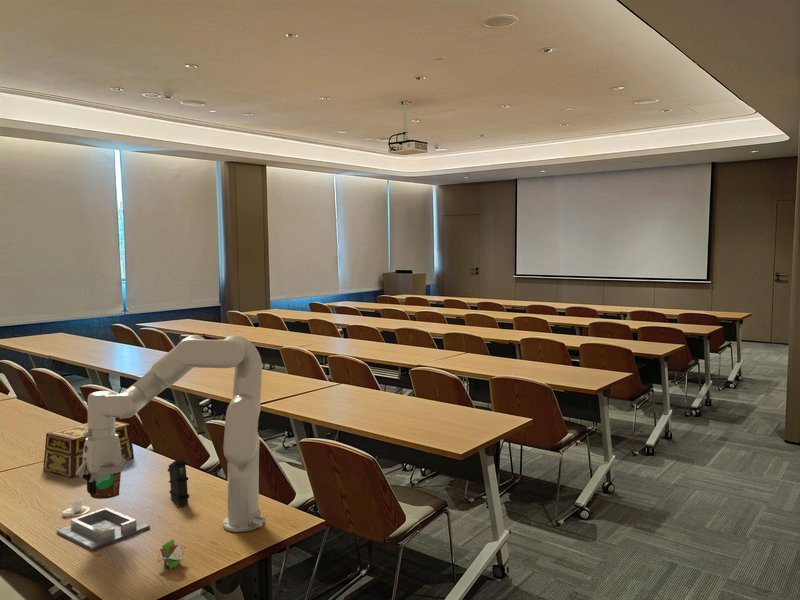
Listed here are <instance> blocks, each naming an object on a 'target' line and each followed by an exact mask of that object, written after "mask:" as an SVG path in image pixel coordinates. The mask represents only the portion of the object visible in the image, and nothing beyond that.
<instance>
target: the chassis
mask: <svg viewBox="0 0 800 600" xmlns="http://www.w3.org/2000/svg"><path fill="white" fill-rule="evenodd" d="M150 528H151V526H150V525H149V524H147V523H145V522H142V521H140V520H138V519H135V518H133V517H130V516H128V515H126V514H125V513H124V514H123V513H121V512H119V511H117V510H115V509H111V508H109V507H104V508H101V509H97V510H94V511H93V512H89V513H85V514H82V515H79V516H76V517H75V518H72V519H70V525H67V526H64V527H62V528H59V529H57V530H56V534H57V535H59V536H61V537H64V538H65V539H67V540H70V541H71V542H73V543H75V544H77V545H79V546H81V547H83V548H85V549H87V550H89V551H91V552H95V551H98V550H100V549H103V548H105V547H107V546H110V545H112V544H114V543H117V542H119V541H123V540H124V539H127V538H130V537H132V536H133V537H134V536H135V535H137V534H140V533H143V532H144V531H147V530H149V529H150Z"/></svg>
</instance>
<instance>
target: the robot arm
mask: <svg viewBox="0 0 800 600" xmlns="http://www.w3.org/2000/svg"><path fill="white" fill-rule="evenodd" d="M262 363H263V362H262V357H261V355H260V352H259V351H258V349H257V348H256V346H255V345H254V344H253V343H252V342H251V341H250V340H248V339H247V338H245V337H243V336H241V335H233V334H232V335H230V336H229V335H228V336H227V337H225V338H224V339H206V338H205V337H203V336H201V335H198V334H192V335H188V336H186V337H185V338H183V339H182V340H180V341H179V342H178V343H177V345H175V346H174V347H173V348H172V349H171V350H169V351H168V352H167V353H166V354H164V355H163V356H162V357H161V358H160V359H158V360H157V361H156V362H154V363H153V365H152V366H151V368H150V369H149V370H148V371H147V372H146V373H145V374H144V375H142V377H140V378H139V379H138V380H137V381H136V382H134V383H133V384H131V385H130V386H129V387H128V388H127V389H125V390H124V391H122V392H121V393H118V394H115V392H113V391H111V390H99V391H94V392H91V393H89V394H88V396H87V423H88V428H87V431H86V432H84V437H86V436H87V437H88V438H86V440H85V444H84V450H83V463H82V465H81V466H80V467H79V469H78V470H77V471H76V474H77V475H79V477H81V478H82V479H83V480H85V481H86V491H87V493H88V494H89V495H90V494H92V495H95V494H96V482H95V481H94V478H95V475H94V474H93V473H97V472H98V470H99V469H100V468H104V467H112V466H117V465H120V464H121V466H122V467H123V465H124V464H125V463H126V460H125V459H124V458H123V457H122V456H121V447H120V441H119V437H118V434H115V421H116V419H117V418H118V419H129V418H131V417H134V416H135V414H137V413H138V412H139V411H140V410H142V409H143V408H144V407H145V406H146V405H147V404H149V402H151V401H153V399H155V397H157V396H158V395H159V394H160V393H162V392H163V391H164V390H167V388H170V387H172V386H173V385H174V384H175V383H177V382H178V381H179V380H180V379H182V378H183V377H184V376H185V375H186V374H188V373H189V372H190V371H191V370H193V369H195V368H200V369H201V368H202V369H203V368H206V369H207V368H209V369H211V368H212V369H230V368H234V373H233V375H234V376H233V389H232V396H231V401H230V402H229V404H228V406H227V409H226V413H225V420H224V421H225V422H224V424H225V425H224V434H223V435H224V436H223V446H222V450H223V455H224V457H225V459H226V461H227V517H225V518H224V519H223V520H222V527H223V528H224V529H225V530H226V531H228V532H234V533H243V532H244V533H245V532H250V531H253V530H256V529H258V528H260V527H263V524H264V523H265V522H266V521H267V519H266V517H265V516H263V515H262V511H261V509H260V505H259V503H260V502H259V501H260V500H259V499H260V496H259V494H260V491H259V486H260V485H259V483H260V482H259V481H260V479H259V475H260V471H259V469H260V465H259V464H260V463H259V462H260V435H259V432H258V429H259V428H258V427H259V418H260V413H261V409H262V407H261V399H262V396H261V395H262V378H263V365H262ZM87 469H88V471H89V472H90V473H91V475H90V474H89V473H87V474H85V473H84V470H86V471H87Z"/></svg>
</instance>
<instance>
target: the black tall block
mask: <svg viewBox="0 0 800 600" xmlns="http://www.w3.org/2000/svg"><path fill="white" fill-rule="evenodd" d="M187 463H188V462H187V461H185V458H183V459H177V460H174V461H173V462H171V463H170V464H168V469H167V472H169V481H168V483H170V490H169V492H168V493H169V494H170V497H171V498H172V500H173V502H175V504H176V505H177V507H179V508H181V507H185V506H188V505H189V503H188V502H189V499H190V494H189V493H188V481H189V477H188V476H187V469H186V468H187V467H186V466H187Z"/></svg>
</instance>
